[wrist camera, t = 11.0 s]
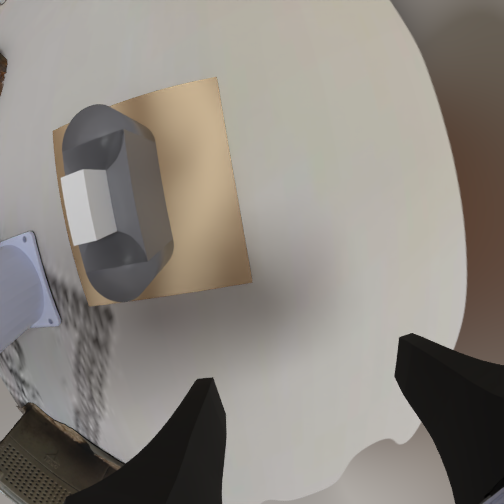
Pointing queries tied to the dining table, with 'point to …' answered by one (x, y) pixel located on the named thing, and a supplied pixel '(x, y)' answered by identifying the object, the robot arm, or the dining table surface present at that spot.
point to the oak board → (185, 191)
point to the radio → (48, 460)
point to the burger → (2, 70)
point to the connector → (115, 201)
